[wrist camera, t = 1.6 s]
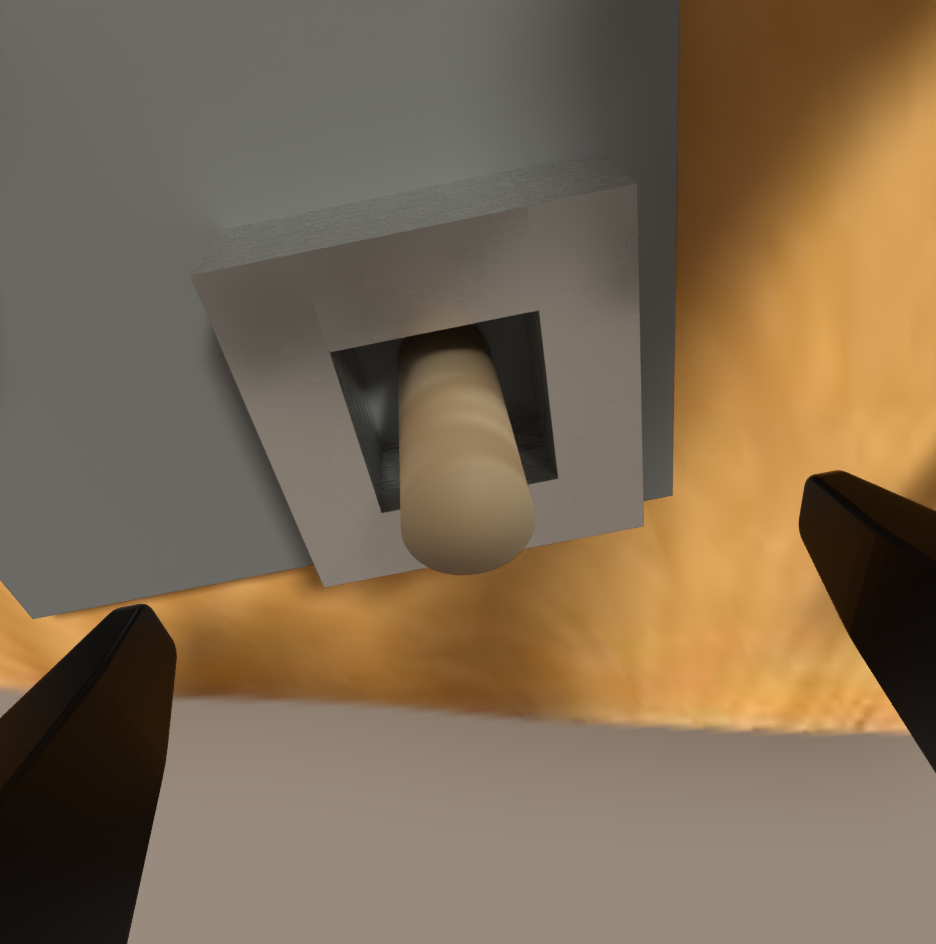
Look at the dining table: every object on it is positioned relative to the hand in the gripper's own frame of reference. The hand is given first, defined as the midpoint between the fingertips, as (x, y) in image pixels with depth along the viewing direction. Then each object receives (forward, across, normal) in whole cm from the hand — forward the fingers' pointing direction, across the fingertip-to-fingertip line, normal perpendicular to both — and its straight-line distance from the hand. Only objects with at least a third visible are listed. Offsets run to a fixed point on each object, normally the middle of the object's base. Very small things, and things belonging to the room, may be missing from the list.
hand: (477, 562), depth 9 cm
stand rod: (+6, 0, 0) cm, 6 cm away
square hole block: (+6, 0, 0) cm, 6 cm away
